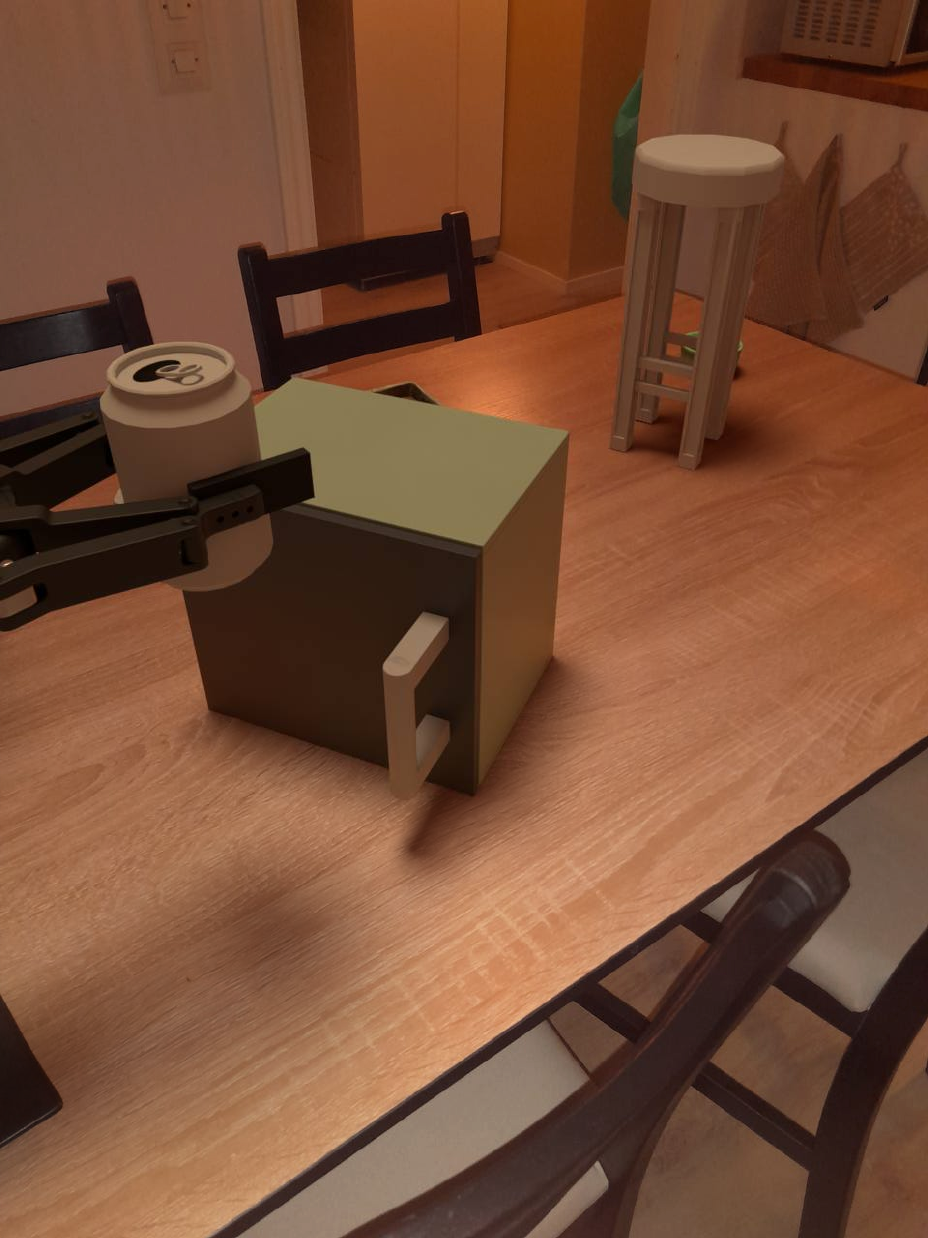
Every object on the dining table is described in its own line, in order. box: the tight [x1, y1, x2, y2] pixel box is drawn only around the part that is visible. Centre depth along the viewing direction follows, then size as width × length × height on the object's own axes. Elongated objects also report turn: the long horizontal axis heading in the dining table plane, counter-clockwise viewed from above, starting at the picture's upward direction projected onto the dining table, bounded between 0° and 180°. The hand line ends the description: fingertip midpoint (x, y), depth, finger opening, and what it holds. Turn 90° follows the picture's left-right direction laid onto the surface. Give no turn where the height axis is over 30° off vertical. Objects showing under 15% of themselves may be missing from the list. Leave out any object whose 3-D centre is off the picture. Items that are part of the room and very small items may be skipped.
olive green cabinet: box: [254, 376, 571, 787], centre depth 82 cm, size 18×26×24 cm
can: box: [99, 341, 273, 591], centre depth 52 cm, size 8×8×12 cm
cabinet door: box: [181, 504, 482, 800], centre depth 72 cm, size 8×26×23 cm, turn 67°
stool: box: [609, 133, 786, 471], centre depth 115 cm, size 16×16×35 cm
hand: (273, 443), depth 54 cm, fingers closed on can, 7 cm apart
